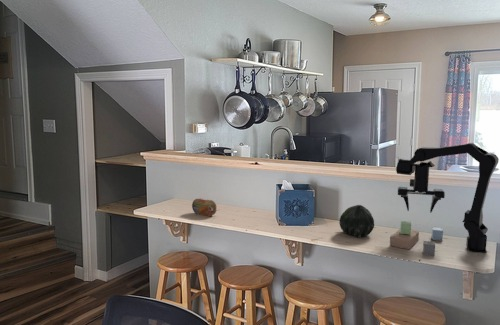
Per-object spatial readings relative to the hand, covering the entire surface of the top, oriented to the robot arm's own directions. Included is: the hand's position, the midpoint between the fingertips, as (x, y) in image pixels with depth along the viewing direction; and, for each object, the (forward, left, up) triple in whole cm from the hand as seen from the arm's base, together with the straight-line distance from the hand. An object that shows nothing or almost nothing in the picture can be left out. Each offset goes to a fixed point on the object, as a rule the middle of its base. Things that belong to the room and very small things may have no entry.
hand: (419, 211), depth 191 cm
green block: (+6, +8, -8) cm, 12 cm away
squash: (+26, +3, -12) cm, 29 cm away
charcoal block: (-3, +19, -12) cm, 23 cm away
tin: (+105, -6, -12) cm, 106 cm away
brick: (+6, +8, -13) cm, 16 cm away
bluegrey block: (-8, -2, -12) cm, 15 cm away
